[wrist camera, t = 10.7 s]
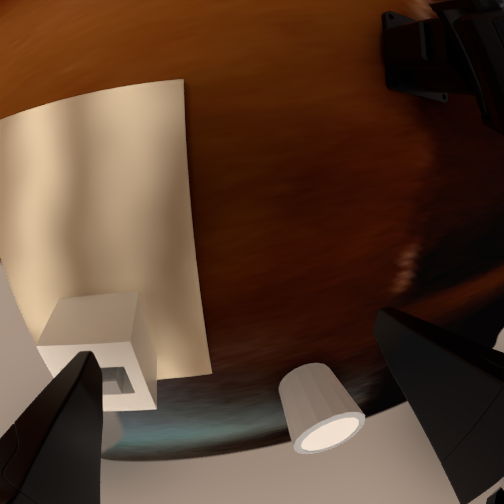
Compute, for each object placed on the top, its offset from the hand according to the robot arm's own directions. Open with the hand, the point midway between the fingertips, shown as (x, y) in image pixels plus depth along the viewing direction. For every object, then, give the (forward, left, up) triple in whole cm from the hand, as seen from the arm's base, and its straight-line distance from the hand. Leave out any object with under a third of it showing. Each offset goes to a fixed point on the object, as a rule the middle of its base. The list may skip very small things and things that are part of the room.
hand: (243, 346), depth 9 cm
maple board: (+8, +2, -12) cm, 15 cm away
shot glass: (-8, +18, -12) cm, 23 cm away
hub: (+8, +7, -10) cm, 15 cm away
